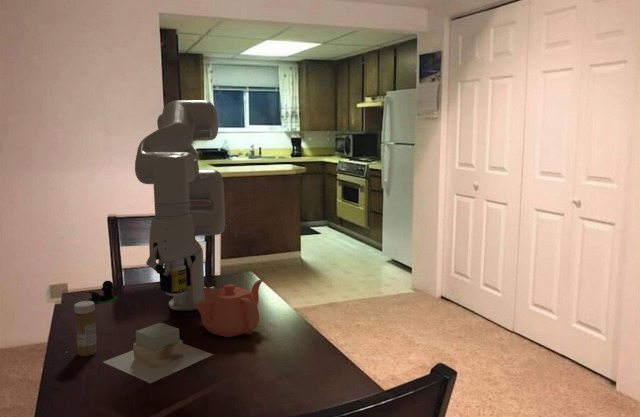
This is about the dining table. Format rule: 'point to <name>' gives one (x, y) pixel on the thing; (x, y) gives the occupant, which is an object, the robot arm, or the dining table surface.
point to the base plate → (152, 374)
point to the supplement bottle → (178, 277)
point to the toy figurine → (107, 294)
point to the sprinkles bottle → (85, 328)
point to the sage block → (157, 336)
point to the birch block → (158, 354)
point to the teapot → (230, 310)
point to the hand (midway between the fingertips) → (175, 287)
